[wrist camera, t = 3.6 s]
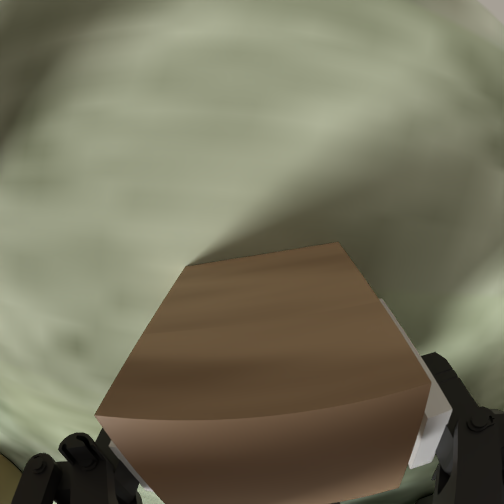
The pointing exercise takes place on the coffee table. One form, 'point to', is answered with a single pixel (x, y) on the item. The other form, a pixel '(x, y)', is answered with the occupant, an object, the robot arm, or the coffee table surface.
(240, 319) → the block
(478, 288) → the coffee table surface
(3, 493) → the squeeze bottle
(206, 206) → the coffee table surface
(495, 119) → the coffee table surface
